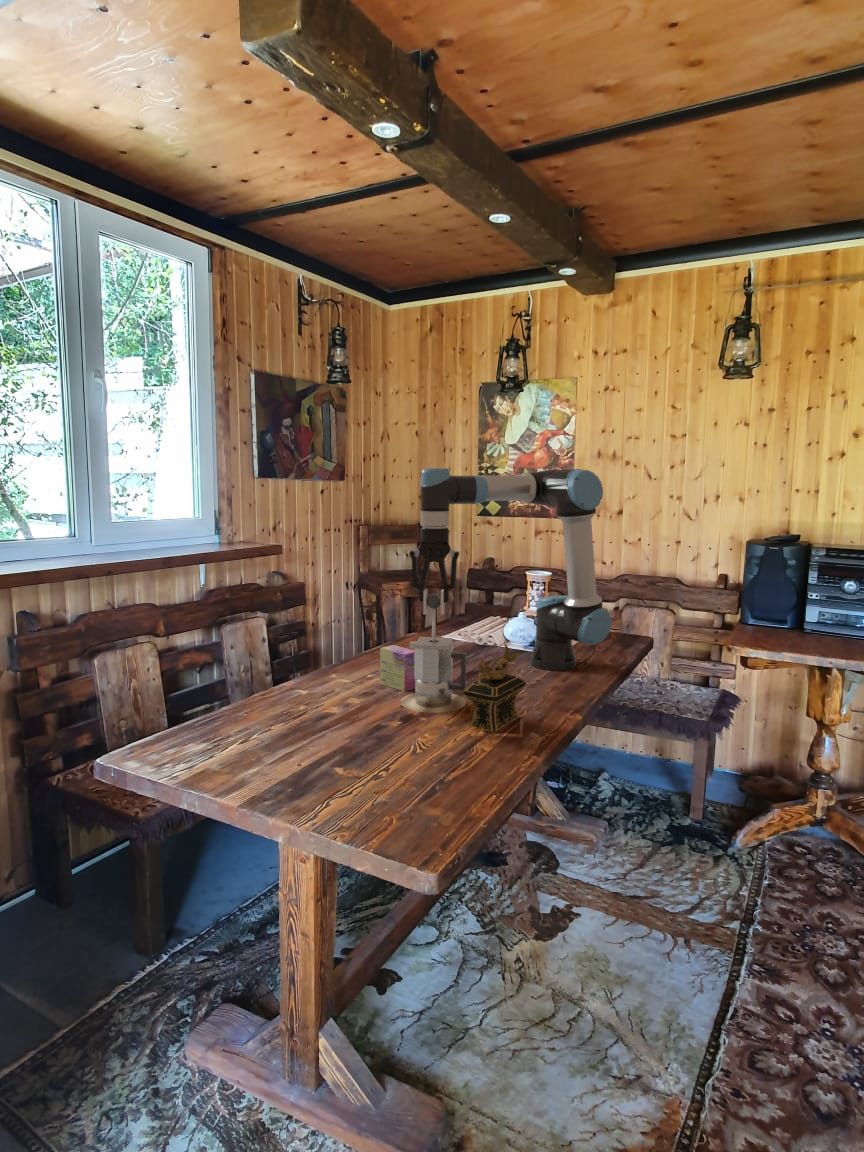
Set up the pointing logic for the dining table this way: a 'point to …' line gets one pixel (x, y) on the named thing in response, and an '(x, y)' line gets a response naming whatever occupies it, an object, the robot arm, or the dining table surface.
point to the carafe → (436, 671)
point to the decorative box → (494, 694)
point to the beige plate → (455, 705)
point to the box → (397, 667)
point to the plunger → (434, 611)
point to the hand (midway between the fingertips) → (433, 613)
